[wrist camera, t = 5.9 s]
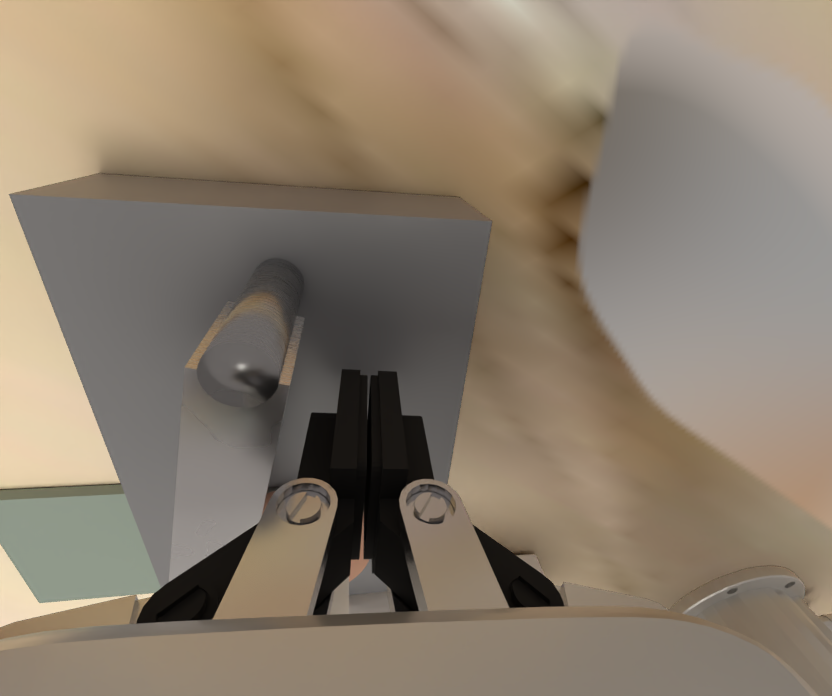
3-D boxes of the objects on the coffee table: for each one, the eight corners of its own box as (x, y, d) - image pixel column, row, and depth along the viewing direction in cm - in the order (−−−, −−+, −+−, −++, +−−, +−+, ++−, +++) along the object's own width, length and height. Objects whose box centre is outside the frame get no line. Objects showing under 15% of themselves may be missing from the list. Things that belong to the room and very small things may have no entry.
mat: (173, 482, 20) (168, 491, 19) (201, 578, 24) (198, 589, 23) (-17, 490, 18) (-28, 501, 18) (46, 591, 22) (39, 602, 22)
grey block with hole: (459, 197, 15) (492, 221, 12) (418, 519, 24) (429, 587, 20) (99, 173, 13) (8, 194, 10) (198, 534, 22) (170, 612, 18)
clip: (315, 268, 11) (296, 354, 7) (266, 494, 15) (236, 632, 11) (248, 250, 11) (186, 332, 7) (215, 489, 15) (165, 631, 11)
